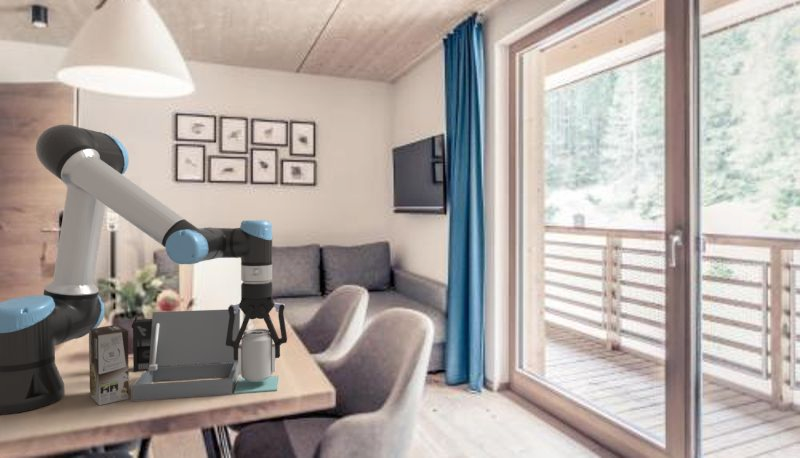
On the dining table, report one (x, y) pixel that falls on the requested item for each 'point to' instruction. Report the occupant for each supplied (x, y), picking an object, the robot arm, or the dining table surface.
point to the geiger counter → (141, 343)
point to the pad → (256, 385)
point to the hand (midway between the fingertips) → (257, 371)
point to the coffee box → (108, 364)
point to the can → (256, 355)
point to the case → (189, 355)
